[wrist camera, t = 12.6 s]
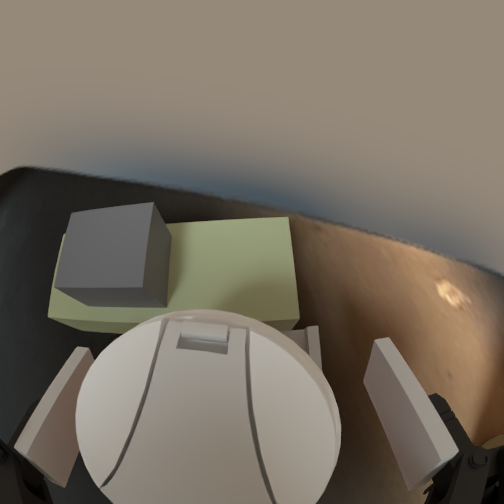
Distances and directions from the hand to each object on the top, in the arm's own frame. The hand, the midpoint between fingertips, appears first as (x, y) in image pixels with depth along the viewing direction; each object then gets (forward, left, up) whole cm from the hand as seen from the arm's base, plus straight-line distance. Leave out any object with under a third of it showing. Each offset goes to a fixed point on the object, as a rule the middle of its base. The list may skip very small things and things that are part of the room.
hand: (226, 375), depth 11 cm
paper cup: (0, -2, -8) cm, 9 cm away
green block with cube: (-4, +2, -9) cm, 10 cm away
